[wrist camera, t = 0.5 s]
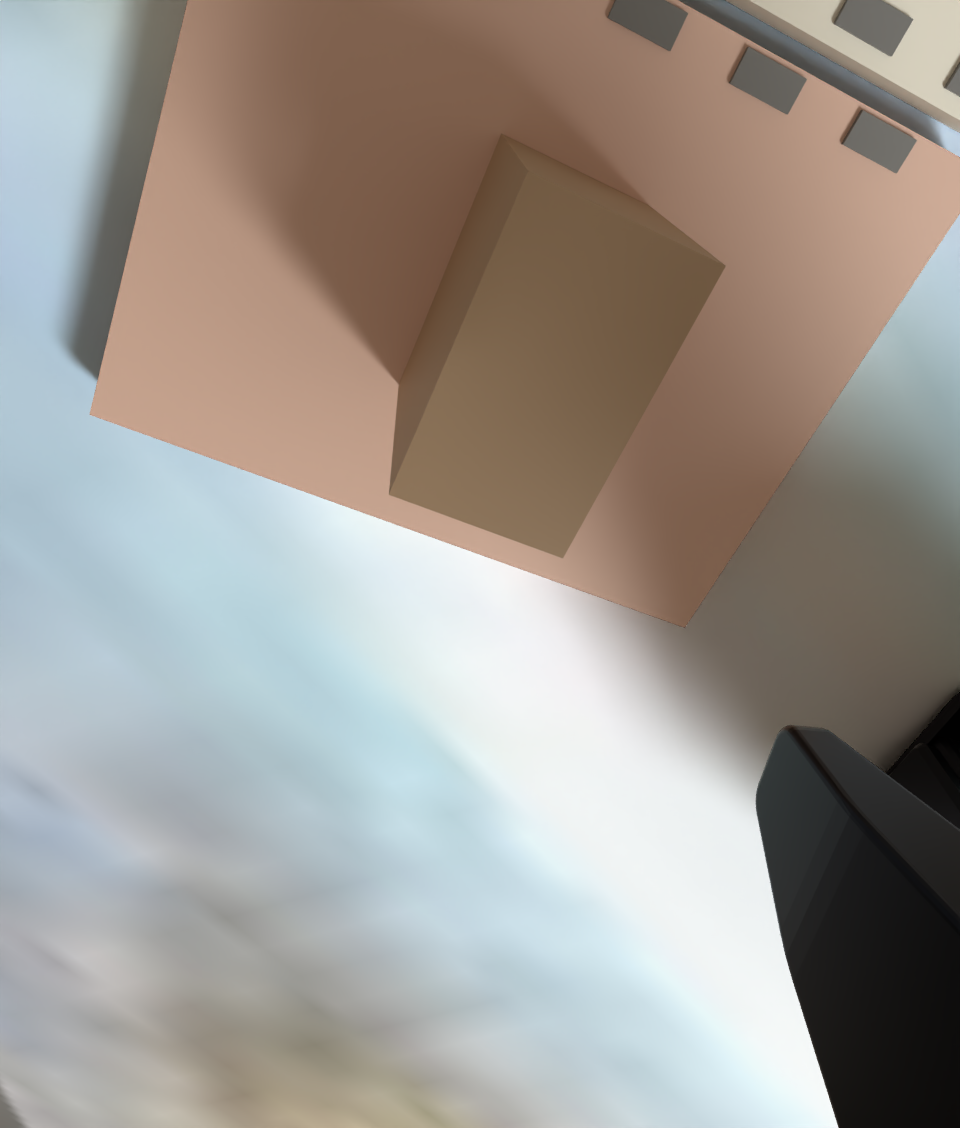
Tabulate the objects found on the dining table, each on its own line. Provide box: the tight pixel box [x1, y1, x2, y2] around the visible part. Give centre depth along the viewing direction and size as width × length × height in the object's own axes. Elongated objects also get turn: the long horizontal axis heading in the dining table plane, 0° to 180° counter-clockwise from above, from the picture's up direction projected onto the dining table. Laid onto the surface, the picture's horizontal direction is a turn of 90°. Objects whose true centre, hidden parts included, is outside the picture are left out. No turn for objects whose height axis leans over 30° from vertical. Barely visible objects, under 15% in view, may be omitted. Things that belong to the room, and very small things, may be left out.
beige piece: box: [90, 0, 960, 628], centre depth 16 cm, size 14×11×6 cm
